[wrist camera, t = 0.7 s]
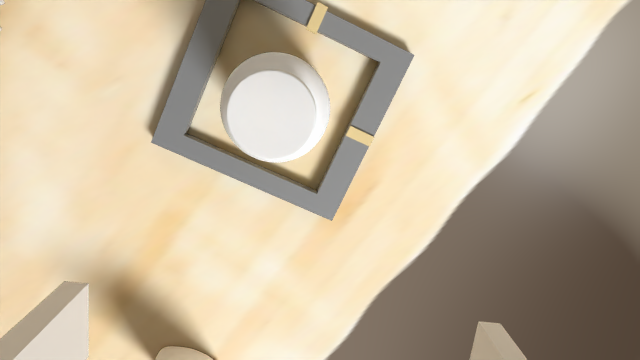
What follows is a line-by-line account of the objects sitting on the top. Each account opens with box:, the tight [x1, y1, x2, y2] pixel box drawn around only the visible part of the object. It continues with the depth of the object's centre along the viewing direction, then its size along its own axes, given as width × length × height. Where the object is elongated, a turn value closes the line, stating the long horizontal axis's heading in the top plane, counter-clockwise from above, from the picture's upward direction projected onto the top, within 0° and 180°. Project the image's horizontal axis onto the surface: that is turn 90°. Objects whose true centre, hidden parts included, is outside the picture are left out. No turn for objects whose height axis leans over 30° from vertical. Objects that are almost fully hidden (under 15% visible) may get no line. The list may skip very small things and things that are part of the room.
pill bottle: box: [220, 52, 330, 162], centre depth 29 cm, size 6×6×12 cm
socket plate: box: [151, 0, 414, 221], centre depth 34 cm, size 15×14×1 cm
